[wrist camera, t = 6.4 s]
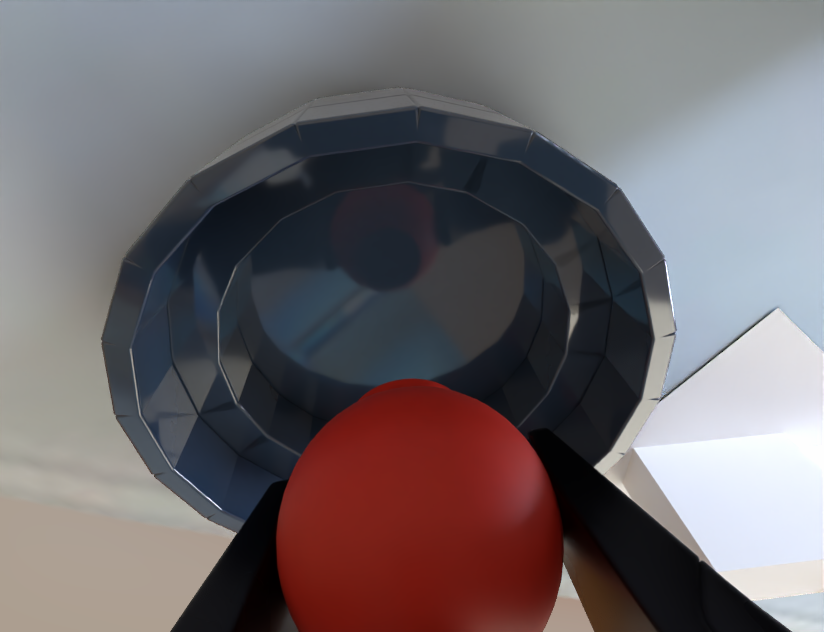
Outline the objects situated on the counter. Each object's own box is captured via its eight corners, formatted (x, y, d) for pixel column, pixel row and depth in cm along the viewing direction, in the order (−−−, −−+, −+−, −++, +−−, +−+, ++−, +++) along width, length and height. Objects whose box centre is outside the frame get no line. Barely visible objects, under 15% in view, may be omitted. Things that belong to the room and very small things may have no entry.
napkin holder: (553, 487, 20) (613, 627, 15) (775, 305, 16) (956, 419, 11) (731, 570, 26) (817, 693, 21) (931, 452, 21) (1098, 571, 17)
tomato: (545, 348, 9) (705, 617, 5) (480, 500, 12) (549, 767, 8) (305, 320, 9) (243, 616, 4) (289, 489, 11) (240, 788, 7)
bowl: (664, 143, 13) (796, 186, 9) (517, 462, 19) (556, 566, 15) (162, 32, 10) (41, 23, 6) (189, 440, 17) (138, 557, 13)
